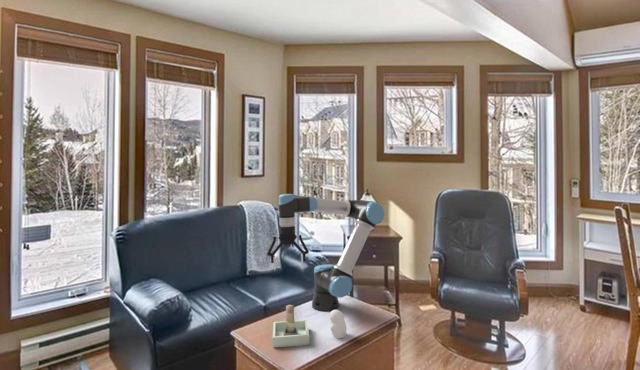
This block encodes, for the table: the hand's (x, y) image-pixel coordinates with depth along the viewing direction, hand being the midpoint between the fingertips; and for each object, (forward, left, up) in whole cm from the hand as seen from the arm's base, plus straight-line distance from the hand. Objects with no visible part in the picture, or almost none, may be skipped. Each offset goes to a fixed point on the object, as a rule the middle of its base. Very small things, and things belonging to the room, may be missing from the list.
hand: (288, 268), depth 179 cm
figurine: (+14, +22, -29) cm, 39 cm away
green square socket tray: (+13, 0, -29) cm, 32 cm away
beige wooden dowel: (+13, 0, -28) cm, 31 cm away
